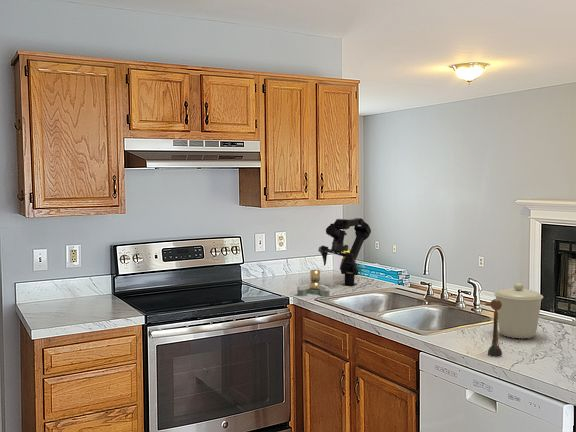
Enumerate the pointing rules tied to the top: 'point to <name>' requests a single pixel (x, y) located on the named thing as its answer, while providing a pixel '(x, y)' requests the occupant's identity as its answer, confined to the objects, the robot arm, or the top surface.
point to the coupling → (314, 279)
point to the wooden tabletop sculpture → (495, 329)
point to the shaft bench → (305, 289)
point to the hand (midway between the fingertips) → (332, 267)
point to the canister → (518, 311)
